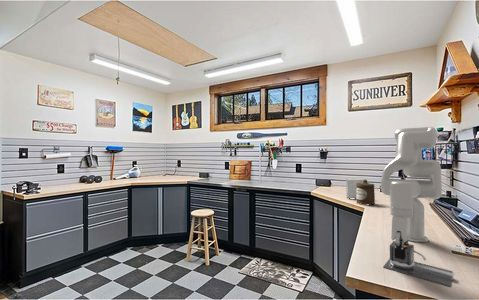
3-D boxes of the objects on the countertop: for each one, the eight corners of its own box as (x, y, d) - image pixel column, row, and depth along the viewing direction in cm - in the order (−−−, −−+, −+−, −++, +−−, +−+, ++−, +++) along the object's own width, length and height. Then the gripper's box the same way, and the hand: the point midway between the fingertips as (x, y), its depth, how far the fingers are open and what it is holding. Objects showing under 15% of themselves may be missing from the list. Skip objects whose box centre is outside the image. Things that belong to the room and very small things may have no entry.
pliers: (402, 256, 104) (386, 240, 124) (402, 258, 104) (386, 242, 124) (428, 259, 102) (407, 242, 121) (428, 261, 102) (407, 244, 121)
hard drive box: (362, 198, 245) (361, 178, 246) (364, 199, 238) (364, 179, 238) (346, 197, 247) (346, 178, 248) (348, 199, 240) (348, 179, 240)
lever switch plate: (391, 256, 105) (391, 243, 105) (454, 272, 91) (453, 257, 91) (383, 267, 95) (383, 252, 95) (452, 287, 81) (451, 269, 81)
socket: (393, 254, 102) (393, 240, 102) (413, 259, 97) (413, 244, 97) (389, 259, 97) (389, 245, 97) (410, 265, 92) (410, 249, 92)
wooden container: (353, 202, 224) (352, 179, 225) (366, 201, 227) (366, 178, 228) (363, 205, 210) (363, 180, 210) (378, 205, 213) (378, 180, 213)
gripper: (395, 207, 106) (395, 246, 106) (385, 214, 94) (385, 259, 93) (416, 209, 101) (416, 251, 101) (408, 217, 88) (409, 265, 88)
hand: (401, 255), depth 97 cm, fingers open, 7 cm apart
